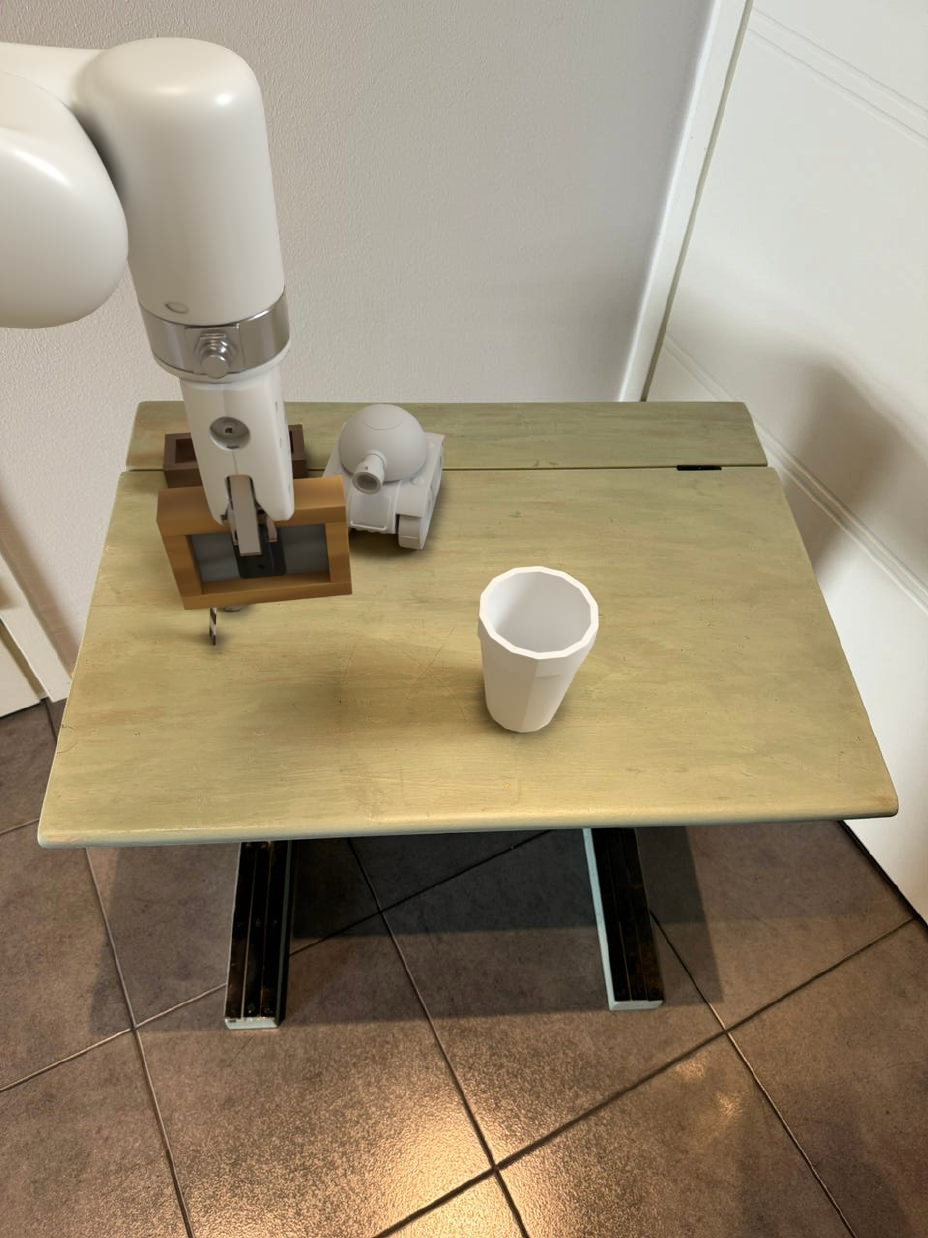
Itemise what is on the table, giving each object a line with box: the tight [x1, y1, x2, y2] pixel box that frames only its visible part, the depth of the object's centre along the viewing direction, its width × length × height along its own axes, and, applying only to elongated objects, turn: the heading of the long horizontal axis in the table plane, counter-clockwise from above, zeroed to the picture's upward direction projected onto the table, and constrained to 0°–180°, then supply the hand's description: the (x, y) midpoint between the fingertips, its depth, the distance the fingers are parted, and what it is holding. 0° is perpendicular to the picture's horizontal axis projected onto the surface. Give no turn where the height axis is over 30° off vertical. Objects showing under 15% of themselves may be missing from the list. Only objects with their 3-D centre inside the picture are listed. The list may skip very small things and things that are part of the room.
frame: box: [155, 476, 353, 611], centre depth 58 cm, size 3×12×9 cm, turn 100°
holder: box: [162, 423, 309, 489], centre depth 91 cm, size 15×6×4 cm, turn 101°
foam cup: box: [476, 565, 600, 734], centre depth 70 cm, size 10×9×13 cm
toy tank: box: [321, 403, 446, 550], centre depth 84 cm, size 15×11×13 cm
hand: (262, 553), depth 59 cm, fingers closed on frame, 2 cm apart
